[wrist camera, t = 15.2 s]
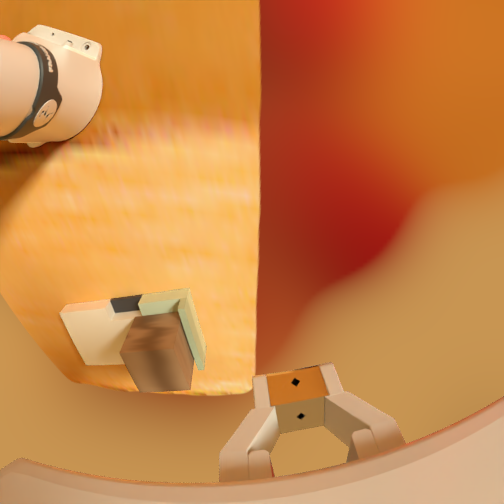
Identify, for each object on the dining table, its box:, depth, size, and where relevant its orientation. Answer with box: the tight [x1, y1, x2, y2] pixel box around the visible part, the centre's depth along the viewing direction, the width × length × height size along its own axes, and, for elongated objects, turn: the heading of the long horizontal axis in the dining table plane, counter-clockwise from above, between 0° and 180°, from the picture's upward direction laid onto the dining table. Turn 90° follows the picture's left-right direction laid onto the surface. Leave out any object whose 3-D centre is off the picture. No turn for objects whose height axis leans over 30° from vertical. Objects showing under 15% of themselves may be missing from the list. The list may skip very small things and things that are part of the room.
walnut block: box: [119, 312, 194, 392], centre depth 43 cm, size 8×8×9 cm
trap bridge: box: [59, 288, 207, 370], centre depth 47 cm, size 24×12×6 cm, turn 99°
